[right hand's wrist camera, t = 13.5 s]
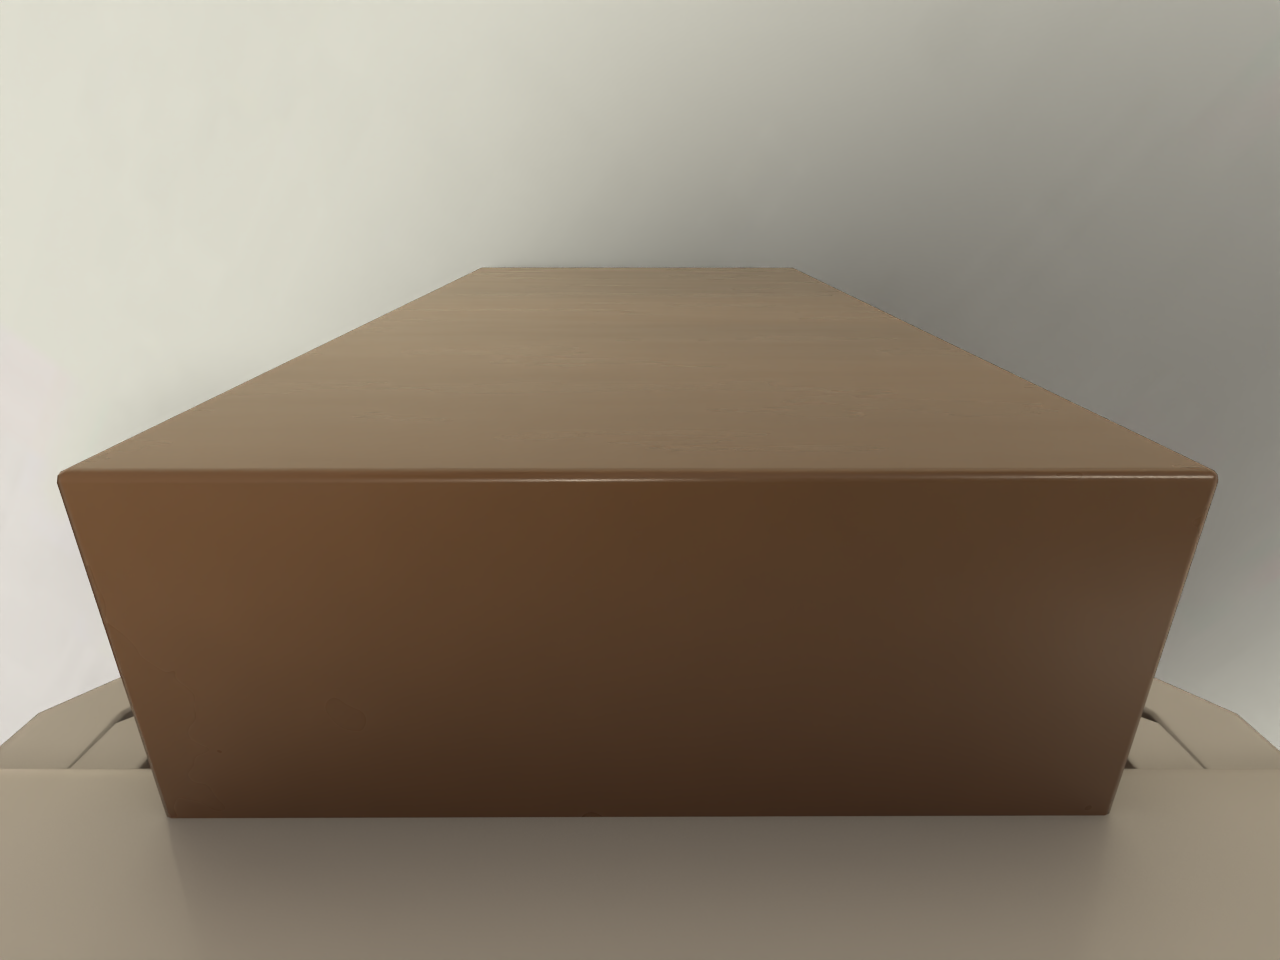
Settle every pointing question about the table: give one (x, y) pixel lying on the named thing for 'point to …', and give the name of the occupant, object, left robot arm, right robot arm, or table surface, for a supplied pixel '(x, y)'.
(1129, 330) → the table surface
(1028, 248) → the table surface
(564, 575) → the box
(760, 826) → the right robot arm
